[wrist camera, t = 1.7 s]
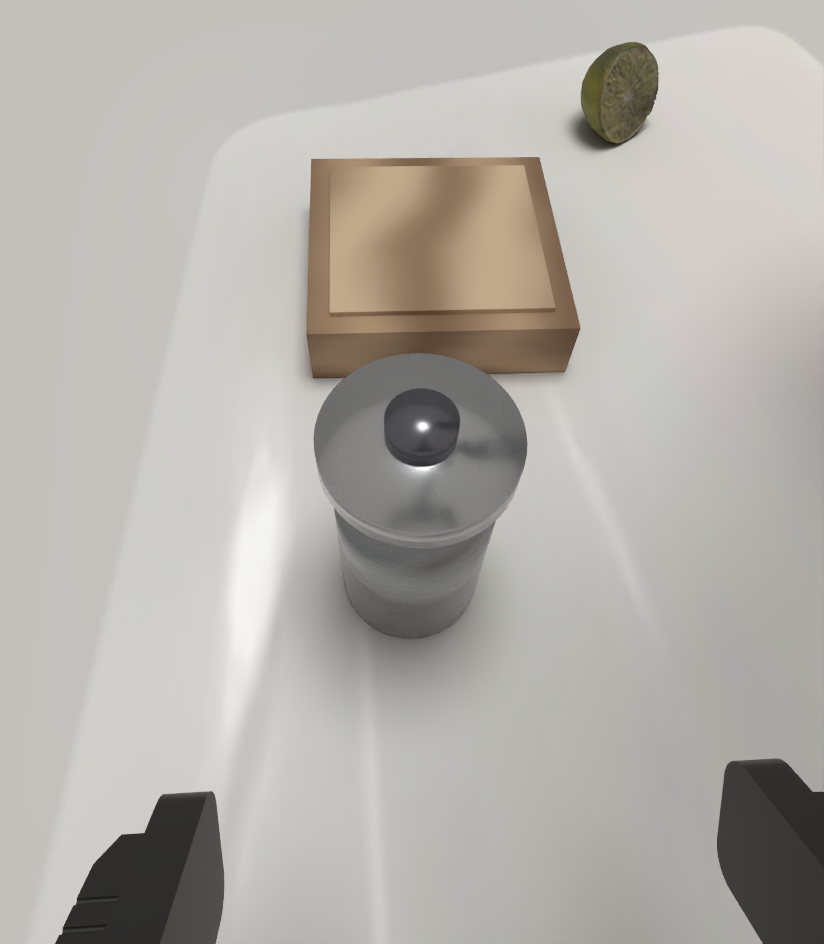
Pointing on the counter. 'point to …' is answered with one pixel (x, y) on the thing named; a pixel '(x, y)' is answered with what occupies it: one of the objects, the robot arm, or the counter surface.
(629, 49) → the lime
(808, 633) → the counter surface
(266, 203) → the counter surface
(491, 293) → the stand
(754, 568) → the counter surface
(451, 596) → the grey lidded canister
